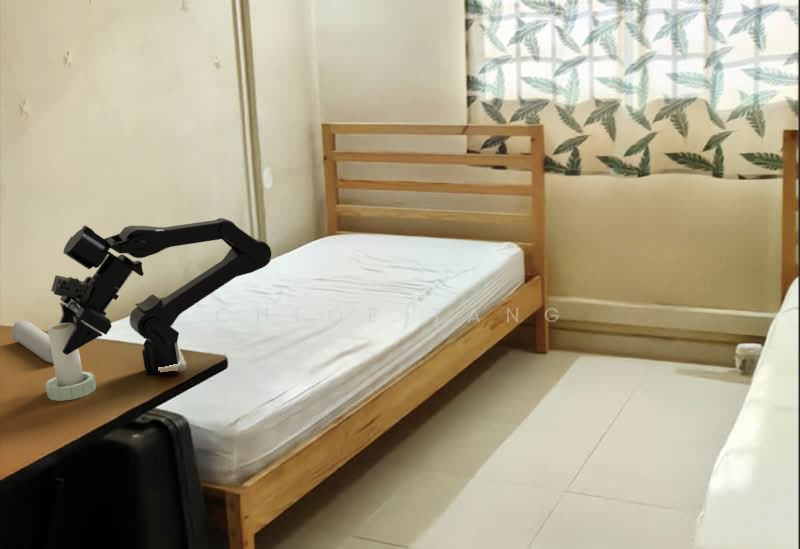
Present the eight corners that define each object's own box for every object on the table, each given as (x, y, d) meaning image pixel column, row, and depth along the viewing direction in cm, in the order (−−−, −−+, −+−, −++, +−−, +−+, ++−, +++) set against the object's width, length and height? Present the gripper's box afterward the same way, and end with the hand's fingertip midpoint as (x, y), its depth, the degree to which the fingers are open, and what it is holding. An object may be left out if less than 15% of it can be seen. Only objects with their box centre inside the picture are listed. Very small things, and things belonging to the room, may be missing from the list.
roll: (90, 385, 196) (79, 322, 193) (74, 394, 192) (63, 330, 188) (69, 384, 198) (58, 321, 195) (53, 393, 193) (41, 329, 190)
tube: (72, 343, 214) (35, 320, 233) (48, 342, 210) (12, 319, 230) (68, 367, 214) (32, 342, 233) (44, 366, 211) (9, 341, 230)
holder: (99, 381, 200) (97, 369, 199) (90, 397, 191) (87, 385, 190) (54, 386, 199) (52, 374, 198) (42, 402, 190) (40, 390, 190)
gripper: (62, 251, 198) (15, 315, 196) (83, 267, 182) (32, 338, 180) (108, 281, 204) (63, 344, 202) (132, 299, 188) (83, 367, 186)
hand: (59, 347), depth 192 cm, fingers open, 9 cm apart
